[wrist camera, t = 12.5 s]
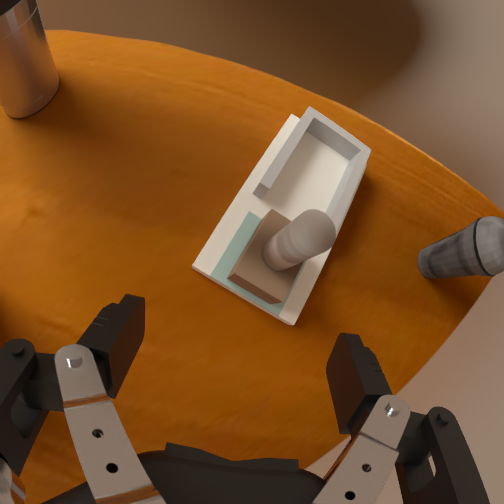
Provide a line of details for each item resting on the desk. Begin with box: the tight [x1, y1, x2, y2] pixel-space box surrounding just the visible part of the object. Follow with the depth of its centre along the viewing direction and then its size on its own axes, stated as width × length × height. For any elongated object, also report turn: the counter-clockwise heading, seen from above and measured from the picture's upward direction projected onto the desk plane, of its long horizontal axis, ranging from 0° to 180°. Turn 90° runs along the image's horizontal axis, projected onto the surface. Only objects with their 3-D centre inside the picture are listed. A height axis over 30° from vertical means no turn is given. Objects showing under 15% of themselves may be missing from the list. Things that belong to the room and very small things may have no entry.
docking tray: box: [192, 106, 371, 325], centre depth 33 cm, size 23×12×4 cm, turn 151°
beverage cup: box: [418, 216, 504, 278], centre depth 30 cm, size 7×7×20 cm
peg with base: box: [227, 209, 336, 304], centre depth 26 cm, size 7×5×12 cm
